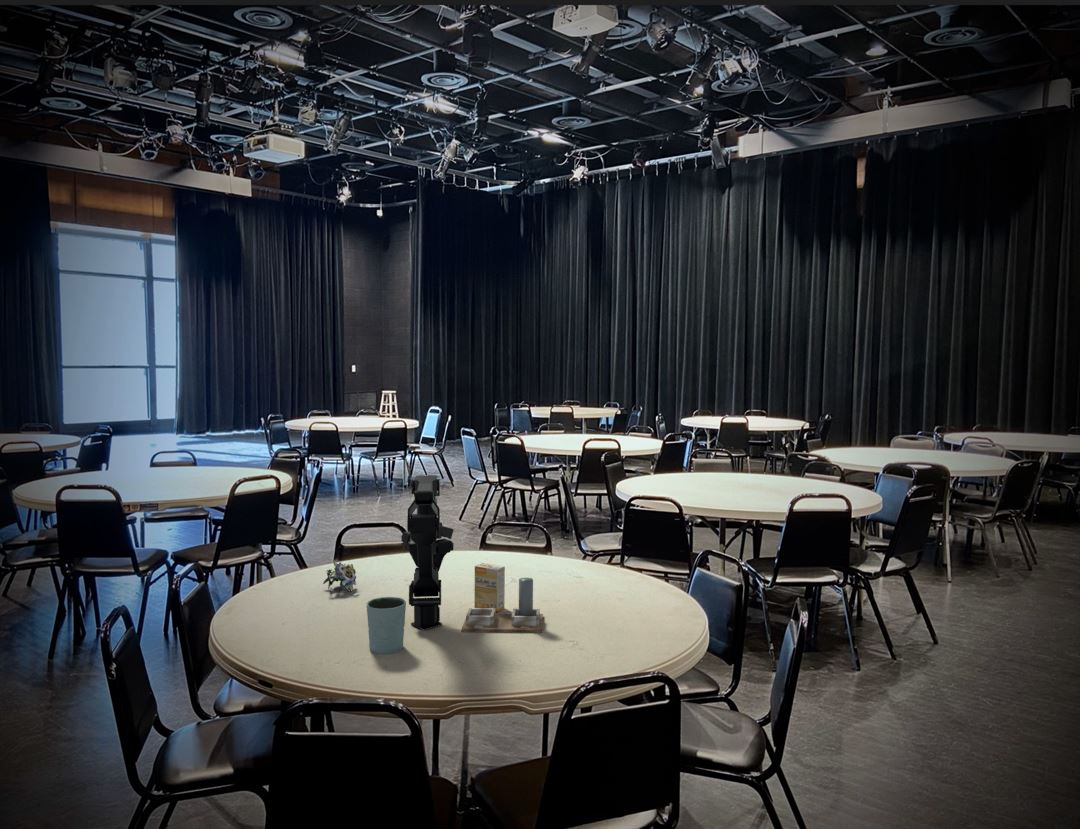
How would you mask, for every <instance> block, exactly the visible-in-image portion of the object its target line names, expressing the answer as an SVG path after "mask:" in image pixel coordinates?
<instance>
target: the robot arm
mask: <svg viewBox="0 0 1080 829" xmlns="http://www.w3.org/2000/svg"><path fill="white" fill-rule="evenodd" d="M440 485H441V484H440V479H438V475H435V474H434V475H416V476H415V479H414V478H413V480H412V482H411V484H410V487H411V490H410V491H411V495H413V497H414V500H413V501H412V503H411V504H410V505H409V507H408V508H407V518H406V520H407V522H406V523H407V524H406V525H407V526H406V527H407V530H406V531H404V532H403V533H402V534H401V543H403V546H405V547H406V549H407V551H408V552H409V553H408V554H410V557H411V559H412V560H413V562H414V564H415V569H414V573H413V580H411V583H410V584H409V586H408V605H409V606H410V607H413V622H411V623H410V625H411V626H413V627H416V628H418V629H420V630H421V631H422V630H428V629H432V628H436V627H440V626H442V625H443V623H442V622H440V620H441V616H440V615H441V610H440V609H441V608H440V606H442V579H439V572H440V570H441V566H442V563H443V560H444V558H445V556H446V555H447V554H448V553H449V554H450V553H451V551H454V549H455V548H454V544H455V543H454V542H453V541H452V537H453V534H454V530H455V528H451V527H449V526H444V525H443V523H442V522H441V521H440V520H441V519H440V518H441V515H440V514H441V512H440V507H439V506H438V498H437V497H441V486H440ZM415 511H416V513H414V512H415ZM442 537H443V538H442Z"/></svg>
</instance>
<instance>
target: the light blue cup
mask: <svg viewBox="0 0 1080 829" xmlns="http://www.w3.org/2000/svg"><path fill="white" fill-rule="evenodd" d="M406 606H407V601H406V600H405V599H404V598H403V597H402V598H401V597H395V596H383V597H377V598H372V599H370V600H368V601H367V602H366V616H367V626H368V648H369V651H370V652H372V653H374V654H382V655H383V654H384V655H385V654H392V653H396V652H399V651H401V650H402V649H403V648H404V638H405V629H404V628H405V623H406V622H405V621H406V610H407V609H406V608H407V607H406Z"/></svg>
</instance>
